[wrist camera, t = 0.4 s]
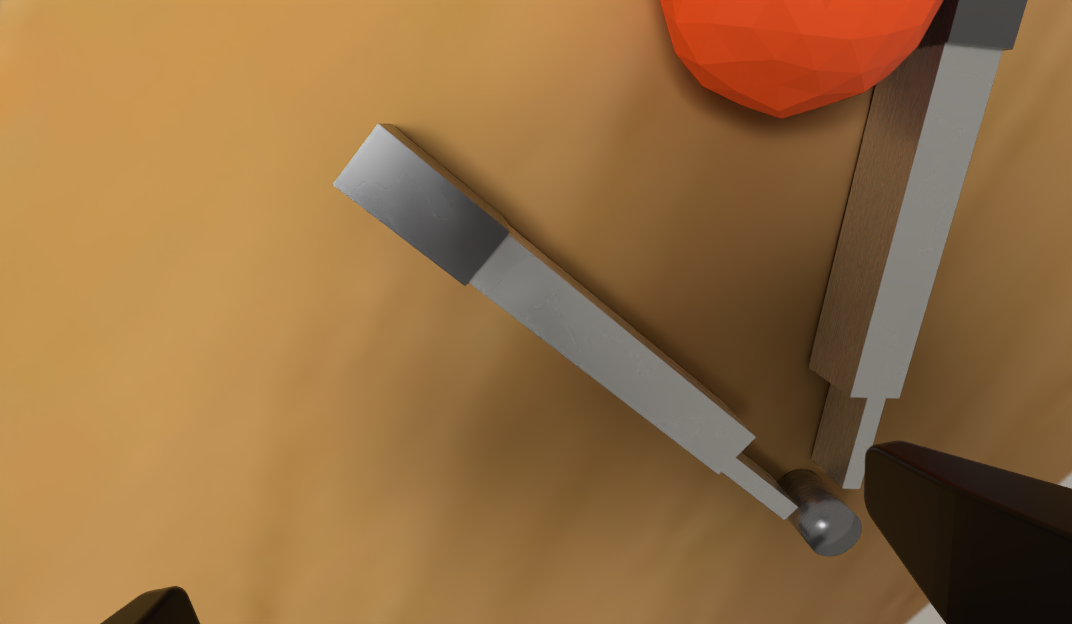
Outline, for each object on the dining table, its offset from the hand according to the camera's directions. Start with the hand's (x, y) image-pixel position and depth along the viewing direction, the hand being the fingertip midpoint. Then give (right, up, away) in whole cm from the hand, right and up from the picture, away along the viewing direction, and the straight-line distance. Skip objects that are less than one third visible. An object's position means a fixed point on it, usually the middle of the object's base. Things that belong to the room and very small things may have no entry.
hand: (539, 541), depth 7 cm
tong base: (+11, +5, +13) cm, 18 cm away
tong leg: (+2, +2, +13) cm, 13 cm away
